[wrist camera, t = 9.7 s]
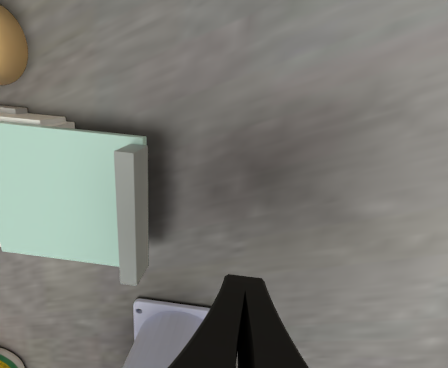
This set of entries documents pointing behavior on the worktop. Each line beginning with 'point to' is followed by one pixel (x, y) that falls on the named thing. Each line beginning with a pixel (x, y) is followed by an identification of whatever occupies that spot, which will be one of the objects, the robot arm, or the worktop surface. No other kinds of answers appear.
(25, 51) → the domed oval button
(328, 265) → the worktop surface
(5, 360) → the supplement bottle
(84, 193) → the lid
